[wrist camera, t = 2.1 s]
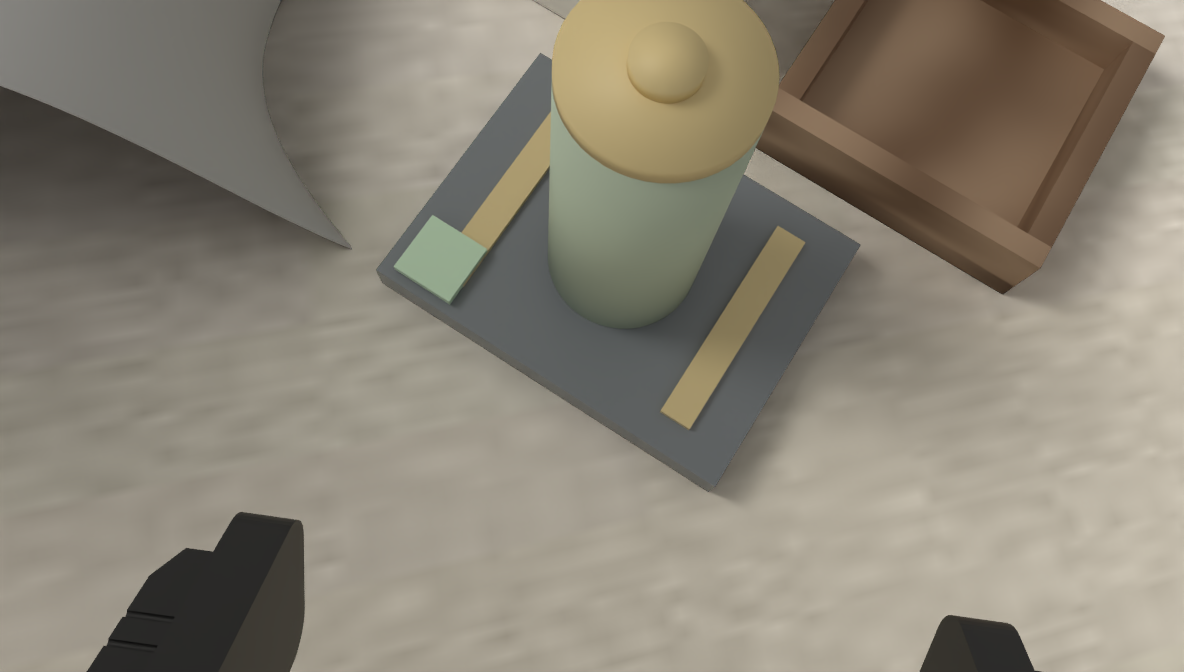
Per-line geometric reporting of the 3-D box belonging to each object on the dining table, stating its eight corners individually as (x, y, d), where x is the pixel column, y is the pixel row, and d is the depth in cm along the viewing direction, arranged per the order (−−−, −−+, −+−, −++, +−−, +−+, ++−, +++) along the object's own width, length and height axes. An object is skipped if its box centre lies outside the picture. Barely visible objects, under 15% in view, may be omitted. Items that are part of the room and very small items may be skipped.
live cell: (518, 276, 30) (506, 84, 19) (599, 162, 31) (631, -81, 20) (646, 357, 29) (708, 206, 19) (724, 237, 31) (825, 30, 20)
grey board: (382, 282, 31) (373, 265, 29) (540, 72, 33) (540, 46, 32) (708, 491, 30) (717, 484, 28) (849, 258, 32) (864, 239, 30)
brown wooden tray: (748, 143, 33) (764, 106, 31) (881, -58, 35) (906, -107, 33) (1002, 294, 32) (1040, 268, 29) (1121, 76, 34) (1165, 35, 32)
